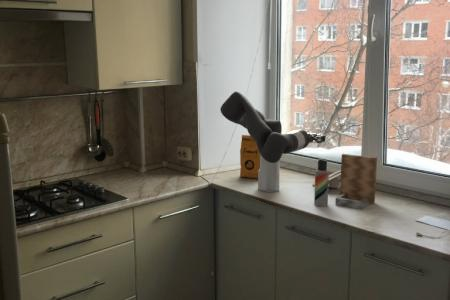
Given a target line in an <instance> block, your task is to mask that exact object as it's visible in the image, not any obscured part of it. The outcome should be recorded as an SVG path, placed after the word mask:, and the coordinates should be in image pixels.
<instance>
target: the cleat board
mask: <svg viewBox="0 0 450 300" xmlns="http://www.w3.org/2000/svg"><path fill="white" fill-rule="evenodd" d="M340 164H341V165H340V166H341V167H340V170H341V175H340V182H339V183H340V185H339V188H340V189H339V195H338V196H337V197H335V206H340V207H346V208H350V209H351V208H352V209H359V210H363V209H364V208H366V206H369V204H370V205H374V204H375V202H376V201H375V200H376V188H377V187H376V186H377V169H378V166H377V165H378V157H374V156H367V155H358V154H357V155H356V154H347V153H343V154H341V162H340Z"/></svg>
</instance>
